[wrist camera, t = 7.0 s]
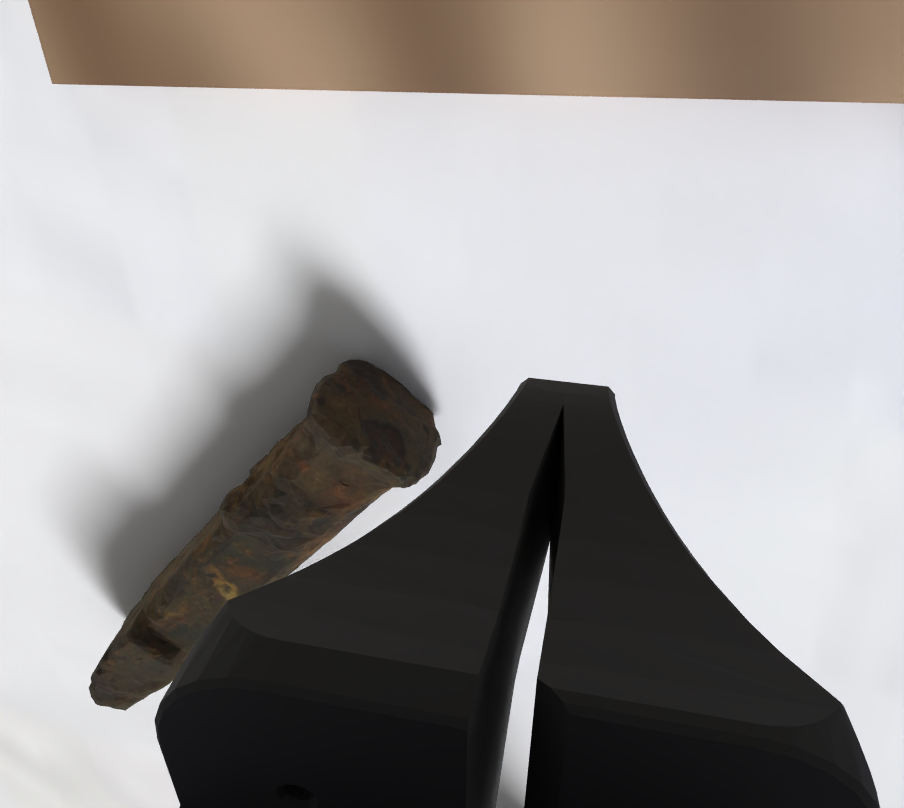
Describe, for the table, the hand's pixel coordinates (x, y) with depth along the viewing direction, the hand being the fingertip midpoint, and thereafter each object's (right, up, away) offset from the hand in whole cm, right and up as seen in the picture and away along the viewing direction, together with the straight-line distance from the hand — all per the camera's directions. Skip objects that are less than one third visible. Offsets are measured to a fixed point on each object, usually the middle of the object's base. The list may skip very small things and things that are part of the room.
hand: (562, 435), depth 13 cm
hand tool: (-9, -4, +17) cm, 20 cm away
